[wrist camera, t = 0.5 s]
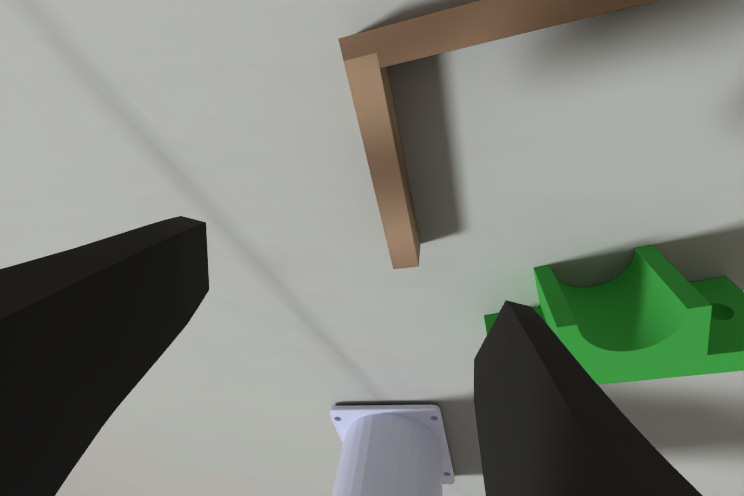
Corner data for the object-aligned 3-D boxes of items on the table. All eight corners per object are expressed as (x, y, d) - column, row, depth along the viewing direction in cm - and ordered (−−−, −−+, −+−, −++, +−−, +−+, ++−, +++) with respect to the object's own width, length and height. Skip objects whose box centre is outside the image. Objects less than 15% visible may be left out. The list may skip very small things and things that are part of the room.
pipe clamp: (728, 226, 16) (821, 290, 12) (720, 291, 18) (800, 365, 14) (472, 277, 19) (482, 340, 16) (486, 328, 21) (498, 396, 17)
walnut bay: (870, 190, 14) (928, 212, 13) (397, 247, 19) (393, 269, 17) (1031, -149, 10) (1158, -184, 8) (349, 36, 14) (338, 38, 13)
